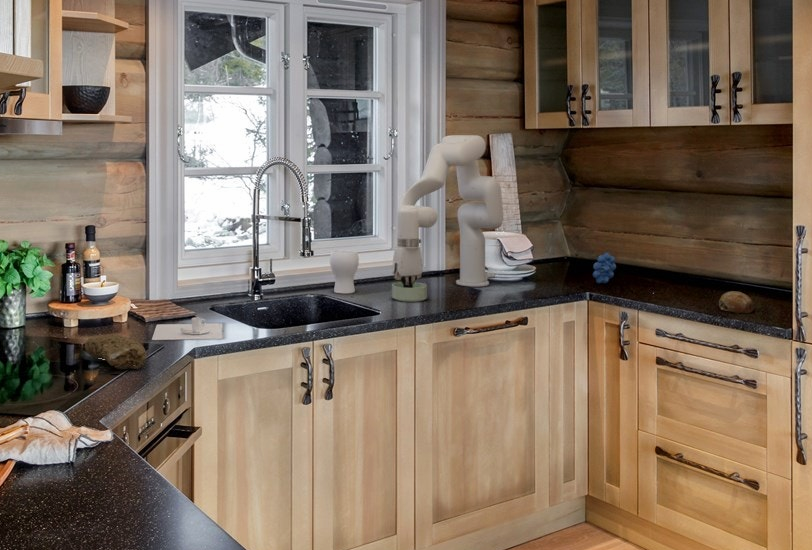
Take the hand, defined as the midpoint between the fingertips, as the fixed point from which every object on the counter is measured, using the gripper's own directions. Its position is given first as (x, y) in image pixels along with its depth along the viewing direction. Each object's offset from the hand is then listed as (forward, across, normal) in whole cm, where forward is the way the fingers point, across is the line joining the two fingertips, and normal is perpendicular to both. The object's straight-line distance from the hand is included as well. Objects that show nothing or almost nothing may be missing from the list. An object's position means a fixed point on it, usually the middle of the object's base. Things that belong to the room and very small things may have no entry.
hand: (408, 295), depth 295 cm
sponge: (+2, +114, +33) cm, 118 cm away
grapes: (+2, -87, +6) cm, 87 cm away
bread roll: (+2, -86, +64) cm, 107 cm away
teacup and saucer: (+2, +85, +9) cm, 85 cm away
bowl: (+2, -2, -2) cm, 3 cm away
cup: (+2, +11, -25) cm, 27 cm away
